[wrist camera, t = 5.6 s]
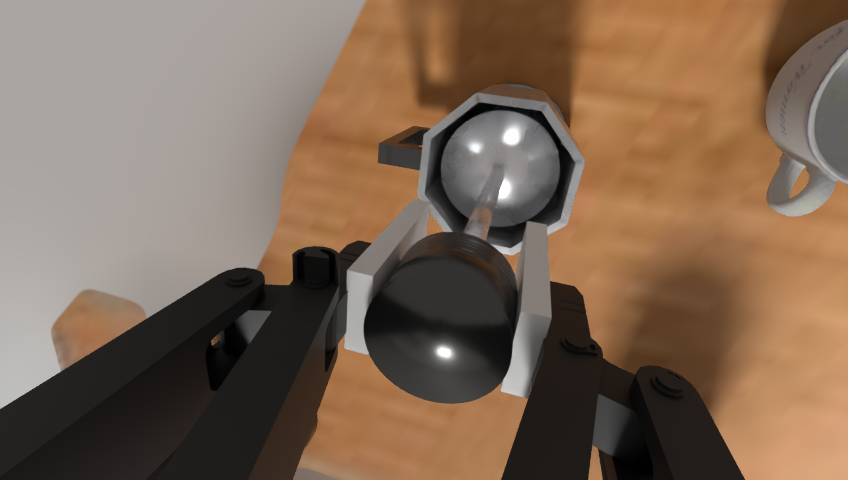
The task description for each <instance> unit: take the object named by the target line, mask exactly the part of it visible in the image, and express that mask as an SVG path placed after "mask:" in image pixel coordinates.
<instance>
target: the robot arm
mask: <svg viewBox="0 0 848 480" xmlns="http://www.w3.org/2000/svg"><path fill="white" fill-rule="evenodd" d="M430 203H431V202H426V201H421V200H416V199H413V200H412V201H411V202H410V203H409V204H408V205H407V206H406V207H405V208H404V209H403V210H402V211H401V213H400V214H399V215H398V216H397V217H396V218H395V219H394V220H393V221H392V222H391V223H390V224H389V225H388V227H387V228H386V229H385V230H384V231H383V232H382V233H381V234H380V235H379V236H378V237H377V238H376V239H375V241H374V242H373V243H368V242H364V241H356V242H354V243H351V244H348V245H347V246H346V247H345V248H344V249H343V250H342V251H341V252H340V253H338V252H337V251H335V250H333V249H331V248H326V247H318V246H313V247H306V248H302V249H300V250H297V251H296V252H294V253H293V254H292V257H293V281H292V282H291V284H290V285H265V278H264V275H263V274H262V272H260V271H258V270H256V269H250V268H235V269H232V270H227V271H225V272H223V273H221V274H219V275H217V276H216V277H214V278H212V279H210V280H209V281H207V282H206V283H204V284H203V285H201V286H199V287H198V288H196V289H194V290H193V291H191V292H189V293H188V294H186V295H185V296H183V297H182V298H180V299H178V300H177V301H175V302H173V303H172V304H170V305H168V306H167V307H165V308H164V309H162V310H160V311H159V312H157V313H156V314H154V315H152V316H151V317H149V318H147V319H146V320H144V321H142V322H141V323H139V324H138V325H136V326H134V327H133V328H131V329H129V330H128V331H126V332H125V333H123V334H121V335H120V336H118V337H116V338H115V339H113V340H112V341H110V342H108V343H107V344H105V345H103V346H102V347H100V348H99V349H97V350H95V351H94V352H92V353H90V354H89V355H87V356H86V357H84V358H82V359H81V360H79V361H78V362H76V363H74V364H73V365H71V366H69V367H68V368H66V369H65V370H63V371H61V372H60V373H58V374H56V375H55V376H53V377H52V378H50V379H48V380H47V381H45V382H43V383H42V384H40V385H39V386H37V387H35V388H34V389H32V390H31V391H29V392H27V393H26V394H24V395H22V396H21V397H19V398H18V399H16V400H14V401H13V402H11V403H9V404H8V405H6V406H5V407H3V408H1V409H0V480H293V477H294V475H295V472H296V469H297V466H298V464H299V461H300V458H301V455H302V453H303V450H304V448H305V447H306V446H307V445H308V443H309V441H310V440H311V438H312V437H313V435H314V433H315V431H316V427H317V417H316V414H317V411H318V409H319V406H320V403H321V401H322V398H323V395H324V392H325V390H326V387H327V384H328V381H329V379H330V376H331V373H332V370H333V368H334V365H335V362H336V359H337V355H338V343H339V342H340V340H341V339H342V337H343V336H344V335H345V348H344V349H348V350H352V351H355V352H359V353H363V354H366V355H368V354H369V352H368V350H367V347H366V344H365V340H364V332H363V325H364V318H365V315H366V311H367V309H368V307H369V305H370V303H371V302H372V300H373V299H374V298H375V296H376V295H377V293H378V292H379V290H380V289H381V288H382V286H383V285H384V283H385V282H386V280H387V279H388V278H389V276H390V275H391V273H392V272H393V270H394V269H395V268H396V266H397V265H398V263H399V262H400V260H401V259H402V258H403V256H404V255H405V253H406V252H407V251H408V249H409V248H410V247H411V246H412V245H414V244H415V243H416V242H418V241H419V240H421V239H423V238H424V237H426V236H427V228H428V219H429V211H430ZM515 278H516V282H517V303H516V314H515V325H514V336H513V350H512V358H511V364H510V367H509V370H508V372H507V374H506V376H505V378H504V379H503V381H502V383H501V391H502V392H506V393H509V394H513V395H516V396H520V397H524V398H527V399H528V401H527V404H526V407H525V410H524V413H523V416H522V419H521V422H520V425H519V428H518V431H517V434H516V437H515V440H514V443H513V446H512V449H511V452H510V455H509V458H508V461H507V464H506V467H505V470H504V473H503V476H502V479H501V480H588V475H589V467H590V459H591V450H592V445H593V446H595V447H597V448H598V449H600V450H602V451H603V458H604V463H605V468H606V472H607V477H608V480H745V479H744V477H743V475H742V473H741V471H740V469H739V467H738V466H737V464H736V462H735V460H734V458H733V456H732V454H731V453H730V451H729V449H728V447H727V445H726V443H725V441H724V440H723V438H722V436H721V434H720V432H719V430H718V428H717V427H716V425H715V423H714V421H713V419H712V417H711V415H710V413H709V412H708V410H707V408H706V406H705V404H704V402H703V400H702V399H701V397H700V395H699V393H698V392H697V390H696V389H695V388H694V387H693V385H692V384H691V383H689V382H688V381H687V380H686V379H684V378H683V377H682V376H680V375H678V374H677V373H674V372H673V371H671V370H668V369H665V368H662V367H659V366H649V365H648V366H644V367H640V369H639V370H638V371H637V372H636V375H634V374H632V373H629V372H627V371H625V370H623V369H621V368H618V367H617V366H615V365H613V364H611V363H609V362H608V361H606V360H605V359H604V358H603V353H602V349H601V347H600V346H599V345H598V344H597V342H596V341H594V340H593V339H592V338H591V336H590V331H589V325H588V320H587V315H586V310H585V307H584V306H585V304H584V299H583V295H582V294H581V293H580V292H579V291H578V290H577V288H576V287H575V286H570V285H566V284H561V283H557V282H552V281H550V276H549V257H548V237H547V225H546V224H541V223H535V222H530V221H527V225H526V229H525V233H524V237H523V242H522V246H521V250H520V254H519V258H518V263H517V267H516V271H515ZM218 334H219V335H220V341H218V342H217V343H216V344H214V345H211V340H212V339H213V338H214V337H215V336H216V335H218ZM530 389H531V392H530ZM529 393H530V395H529ZM528 396H529V398H528Z"/></svg>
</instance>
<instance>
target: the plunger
mask: <svg viewBox="0 0 848 480" xmlns="http://www.w3.org/2000/svg"><path fill="white" fill-rule="evenodd" d="M559 174H560V163H559V156H558V152H557V148H556V146H555V143H554V141H553V139H552V137H551V136H550V134H549V133H548V132H547V130H546V129H545V128H544V127H543V126H542V125H541V124H540V123H539V122H537V121H536V120H535V119H533V118H531V117H529V116H528V115H525V114H523V113H520V112H516V111H512V110H493V111H488V112H484V113H481V114H479V115H477V116H475V117H473V118H471V119H470V120H468V121H467V122H465V123H464V124H463V125H462V126H460V127H459V128H458V129H457V130H456V132H455V133H454V134H453V135H452V137H451V138H450V140H449V141H448V143H447V145H446V147H445V150H444V153H443V157H442V162H441V177H442V182H443V186H444V189H445V192H446V194H447V196H448V198H449V199H450V201H451V202H452V204H453V205H454V206H455V207H456V208H457V209H458V210H459V211H460V212H461V213H462V214H463V215H465V216H466V217H468V218H469V221H468V223H467V225H466V227H465V230H464V232H463V233H460V232H441V233H436V234H432V235H429V236H427V237H424V238H423V239H421V240H419V241H418V242H416V243H415V244H414V245H412V246H411V247H410V248H409V249H408V251H407V252H406V253H405V255H404V256H403V258H402V259H401V260H400V262H399V263H398V265H397V266H396V268H395V269H394V270H393V272H392V273H391V275H390V276H389V278H388V279H387V280H386V282H385V283H384V285H383V286H382V288H381V289H380V290H379V292H378V293H377V295H376V296H375V298H374V299H373V300H372V302H371V303H370V305H369V307H368V309H367V311H366V315H365V318H364V325H363V332H364V340H365V344H366V347H367V350H368V352H369V354H370V357H371V358H372V360H373V362H374V363H375V365H376V366H377V367H378V369H379V370H380V371H381V372H382V373H383V375H384V376H385V377H386V378H387V379H389V380H390V381H391V382H392V383H393V384H395V385H396V386H398V387H399V388H400V389H402V390H404V391H406V392H407V393H409V394H412V395H414V396H416V397H419V398H422V399H424V400H428V401H432V402H438V403H450V404H454V403H464V402H469V401H473V400H476V399H479V398H481V397H483V396H485V395H487V394H488V393H490V392H491V391H493V390H494V389H495V388H496V387H497V386H498V385H499V384H500V383H501V382H502V381H503V379H504V378H505V376H506V374H507V372H508V370H509V367H510V364H511V358H512V350H513V336H514V325H515V314H516V303H517V282H516V278H515V274H514V272H513V270H512V268H511V266H510V264H509V263H508V261H507V259H506V258H505V257H504V256H503V255H502V253H500V252H499V251H498V250H497V249H496V248H495V247H494V246H492V245H491V244H489V243H488V242H486V241H485V240H486V237H487V234H488V230H489V227H490V226H494V227H504V226H512V225H516V224H519V223H522V222H524V221H526V220H528V219H530V218H532V217H533V216H535V215H536V214H538V213H539V212H540V211H541V210H542V209H543V208H544V207H545V206H546V205H547V204H548V202H549V201H550V199H551V198H552V196H553V194H554V192H555V190H556V187H557V184H558V180H559Z"/></svg>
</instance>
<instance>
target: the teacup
mask: <svg viewBox="0 0 848 480" xmlns="http://www.w3.org/2000/svg"><path fill="white" fill-rule="evenodd" d="M765 117H766V125H767V128H768V132H769V134H770V136H771V138H772V140H773V141H774V143H775V144H776V145H777V147H778V148H779V149H780V150H781V151H782V152H783V154H782V156H781V158H780V165H779V167H778V169H777V171H776V172H775V174H774V176H773V179H772V181H771V183H770V185H769V187H768V191H767V198H766V199H767V202H768V204H769V206H770V207H771V208H772V209H773V210H775V211H777V212H778V213H781V214H783V215H787V216H801V215H805V214H807V213H810V212H812V211H814V210H815V209H817V208H818V207H820V206H821V205H822V204H823V203H824V202H825V201H826V200H827V199H828V198H829V197H830V195H831V194H832V192H833V190H834V187H835V185H836V182H837V181H840V182H842V183H845V184H848V19H847V20H844V21H842V22H840V23H838V24H836V25H833V26H831V27H829V28H828V29H826V30H824V31H823V32H821V33H819V34H818V35H816V36H815V37H813V38H812V39H810V40H809V41H808V42H807V43H805V44H804V45H803V46H802V47H801V48H799V49H798V50H797V51H796V52H795V53H794V54H793V55H792V56H791V57H790V59H789V60H788V61H787V62H786V63H785V65H784V66H783V67H782V69H781V70H780V71H779V73H778V74H777V76H776V78H775V80H774V82H773V83H772V86H771V88H770V91H769V94H768V97H767V102H766V108H765ZM805 167H806V170H807V172H808V173H809V175H810V177H809V182H808V184H807V186H806V187H805V188H804V189H803V190H802V191H801V192H800V193H799V194H798V195H796V196H794V197H793V198H791V199H789V196H790V193H791V190H792V187H793V185H794V183H795V181H796V179H797V178H798V176H799V174H800V173H801V171H802V170H803V169H804V168H805Z"/></svg>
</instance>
